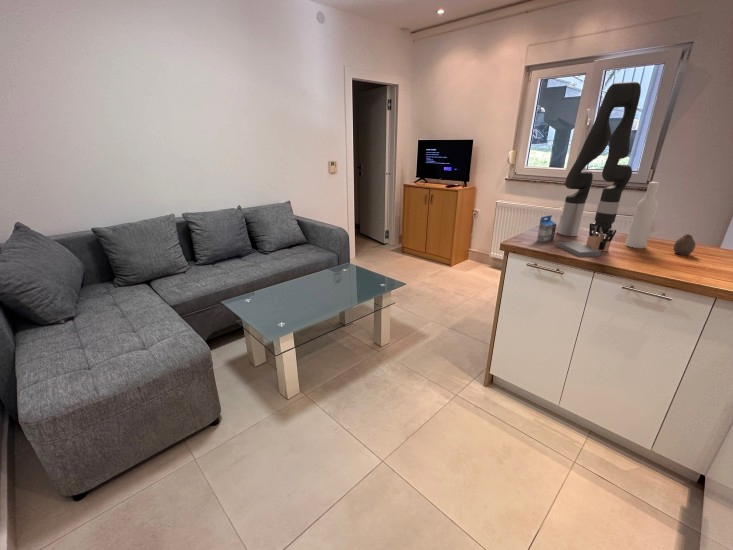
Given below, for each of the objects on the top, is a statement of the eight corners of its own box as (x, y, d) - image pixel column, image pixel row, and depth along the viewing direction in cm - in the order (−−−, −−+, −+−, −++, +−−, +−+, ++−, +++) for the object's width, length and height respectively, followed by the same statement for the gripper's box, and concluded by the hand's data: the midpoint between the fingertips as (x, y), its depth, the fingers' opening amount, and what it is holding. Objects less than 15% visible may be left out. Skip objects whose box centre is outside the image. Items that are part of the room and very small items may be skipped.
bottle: (623, 243, 166) (641, 180, 155) (642, 244, 163) (662, 181, 152) (626, 247, 159) (646, 182, 148) (647, 249, 156) (668, 183, 145)
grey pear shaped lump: (675, 255, 148) (682, 236, 145) (668, 250, 154) (675, 232, 151) (695, 257, 146) (702, 237, 142) (687, 252, 152) (694, 233, 148)
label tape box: (543, 242, 168) (548, 218, 163) (536, 240, 171) (540, 217, 166) (553, 240, 172) (558, 216, 167) (546, 238, 175) (551, 215, 170)
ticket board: (556, 245, 162) (557, 241, 161) (576, 245, 163) (577, 241, 162) (578, 256, 147) (580, 252, 146) (600, 255, 148) (601, 251, 147)
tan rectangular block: (585, 248, 157) (588, 236, 155) (601, 247, 158) (604, 235, 156) (591, 251, 153) (595, 238, 151) (608, 250, 154) (611, 238, 152)
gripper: (587, 208, 155) (579, 243, 162) (611, 214, 142) (600, 253, 148) (602, 208, 156) (593, 243, 162) (627, 214, 143) (616, 252, 149)
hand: (597, 247), depth 155 cm, fingers closed on tan rectangular block, 4 cm apart
